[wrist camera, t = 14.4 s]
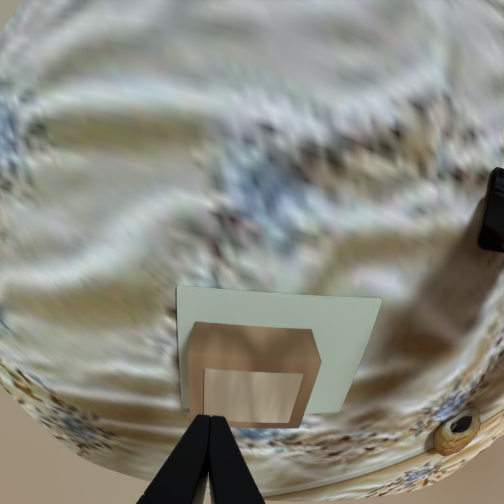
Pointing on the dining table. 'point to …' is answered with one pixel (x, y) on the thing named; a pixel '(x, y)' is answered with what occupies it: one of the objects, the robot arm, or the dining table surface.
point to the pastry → (457, 432)
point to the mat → (287, 316)
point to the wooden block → (252, 374)
